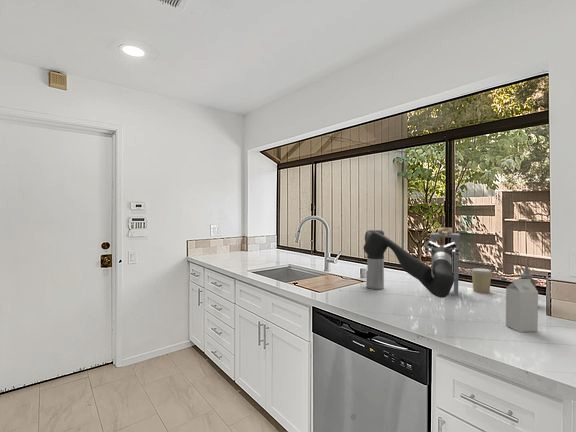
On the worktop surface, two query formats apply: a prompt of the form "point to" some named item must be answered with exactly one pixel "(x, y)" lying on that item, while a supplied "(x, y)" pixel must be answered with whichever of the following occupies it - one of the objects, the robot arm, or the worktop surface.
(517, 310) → the milk carton
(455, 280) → the grey stand
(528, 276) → the squeeze bottle
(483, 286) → the coffee cup
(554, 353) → the worktop surface
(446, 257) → the robot arm
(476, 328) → the worktop surface
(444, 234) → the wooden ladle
